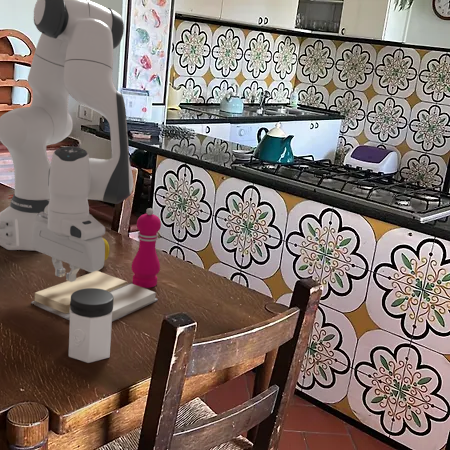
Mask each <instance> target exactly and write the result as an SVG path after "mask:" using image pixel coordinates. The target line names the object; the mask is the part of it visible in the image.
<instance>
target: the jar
mask: <svg viewBox="0 0 450 450" xmlns="http://www.w3.org/2000/svg"><path fill="white" fill-rule="evenodd" d="M113 301H114V297H113V295H112V294H111V293H110V292H108V291H106V290H103V289H97V288H86V289H81V290H78V291H75V292H74V293H73V294H72V295H71V301H70V309H71V311H70V320H69V327H68V328H69V330H68V333H69V335H68V336H69V338H68V357H69V358H71V359H74V360H78V361H81V362H84V363H87V364H90V363H94V362H98V361H101V360H105V359H108V358H110V356H111V354H110V353H111V344H112V343H111V341H112V340H111V339H112V326H113V325H112V324H113V323H112V322H113V321H112V310H113Z"/></svg>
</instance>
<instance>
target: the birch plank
mask: <svg viewBox="0 0 450 450" xmlns="http://www.w3.org/2000/svg"><path fill="white" fill-rule="evenodd" d="M126 284H128V281H127V280H123V279H122V278H119V277H116V276H114V275H113V276H112V275H110V274H107V273H105V272H101V271H100V270H98V271H95V272H88V273H87V274H83V275H82V276H78V277H76V280H75V281H73V282H70V281H68V280H66V281H64V282H61V283H58V284H56V285H53V286H49V287H47V288H44V289H41V290H38V291H36V292H34V301H37V302H39V303H41V304H44V305H46V306H48V307H51V308H53V309H56V310H58V311H60V312H63V313H65V314H67V313H69V309H70V301H71V295H72V294H73V293H74V292H75V291H78V290H81V289H86V288H97V289H103V290H106V291H108V292H109V291H111V290H114V289H116V288H119V287H121V286H124V285H126Z"/></svg>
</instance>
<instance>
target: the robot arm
mask: <svg viewBox="0 0 450 450" xmlns="http://www.w3.org/2000/svg"><path fill="white" fill-rule="evenodd" d="M33 23H34V25H35V27H36V29H37V31H38V32H39V33H40V37H39V39H38V42H37V44H36V48H35V51H34V54H33V58H32V62H31V65H30V68H29V72H28V76H27V83H28V86H29V87H30V88H31V90H32V99H31V104H30V106H27V107H17V108H14V109H12V110H9V111H8V112H5V113H3V114H2V115H1V116H0V142H1V143H2V145H3V146H4V147H6V148H7V150H8V152H9V154H10V157H11V160H12V165H13V170H14V173H13V174H14V193H12V194H8V195H7V197H8V198H7V199H8V200H10V204H9V205H8V207H6V208H5V209H3V210H2V211H0V246H1V247H3V248H4V249H6V250H8V251H17V250H18V251H20V250H21V251H36V252H38V253H42V254H43V255H47V256H49V257H51V263H52V265H53V267H54V269H55V270H54V271H55V272H54V275H55V276H56V277H59V278H63V277H65V280H66V281H70V282H73V281H75V280H76V278H77V274H78V272H79V270H80V269H81V270H82V271H83V270H84V271H86V272H88V273H92V272H95V271H100V270H101V269H103V268H104V266H105V261H106V260H105V243H104V240H103V238H104V237H103V236H104V235H105V234H106V227H105V226H104V225H103V224H102V223H101V222H100V221H98V220H97V219H96V218H95V217H94V216H93V215H92V214H90V211H89V210H90V206H89V201H88V200H92V201H93V200H94V201H102V202H105V203H111V204H116V205H118V204H120V203H122V202H124V201H126V199H128V198H129V197H130V196H131V195H132V192H133V189H134V188H133V187H134V178H133V177H134V176H133V171H132V166H131V161H130V148H129V146H130V145H129V135H128V134H129V133H128V121H127V112H126V104H125V99H124V97H123V93H122V92H120V91H119V90H117V88H116V86H115V84H114V80H113V69H114V68H113V67H114V49H116V48H117V47H118V46H119V45H120V44H121V42H122V39H123V36H124V31H125V25H124V23H125V22H124V20H123V17H122V15H121V14H119V13H118V12H117V11H116V10H113V9H112V8H110V7H105V6H103V5H101V4H99V3H96V2H94V1H92V0H36V3H35V5H34V9H33ZM70 97H72V98H73V100H74V101H75V102H77V103H79V104H80V105H82V106H84V107H86V108H88V109H90V110H91V111H94V112H96V113H98V114H99V115H101V116H102V117H104V118H105V119H106V120H107V122H108V125H109V133H110V145H111V157H110V158H109V159H108V158H107V159H103V158H94V157H89V156H90V155H89V152H88V151H86V150H85V149H84V148H81V147H78V146H63V147H59V148H56V150H54V152H53V153H52V158H51V162H50V160H49V157H48V152H47V146H50V145H55V144H59V143H60V142H63V140H65V139H66V138H68V137H69V136H70V135H71V133H72V131H73V126H74V125H73V124H74V123H73V118H72V116H71V114H70V113H69V98H70ZM104 260H105V261H104ZM63 262H64V263H66V264H68V265H69V269H70V271H69V272H66V268H65V267H64V266H63Z"/></svg>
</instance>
